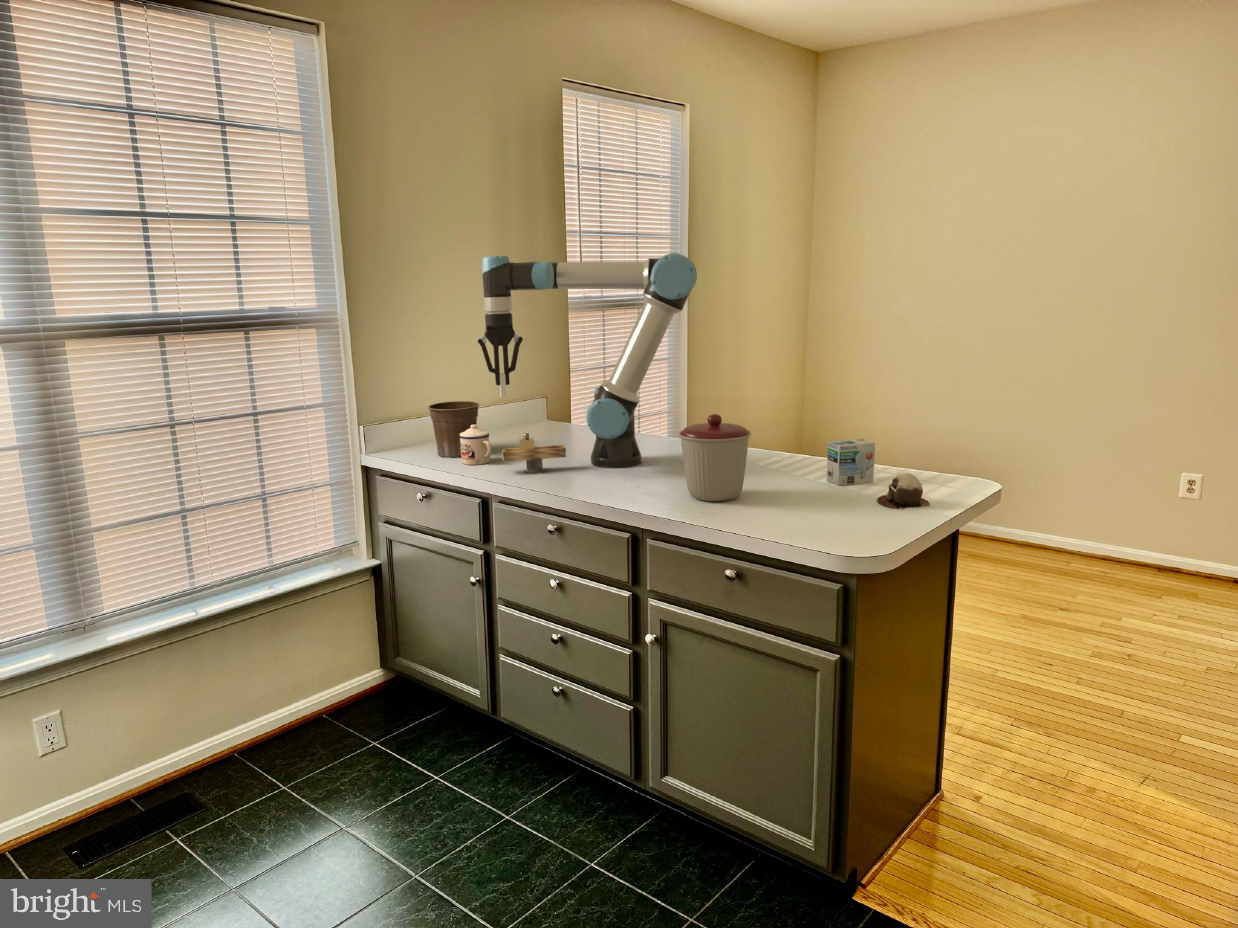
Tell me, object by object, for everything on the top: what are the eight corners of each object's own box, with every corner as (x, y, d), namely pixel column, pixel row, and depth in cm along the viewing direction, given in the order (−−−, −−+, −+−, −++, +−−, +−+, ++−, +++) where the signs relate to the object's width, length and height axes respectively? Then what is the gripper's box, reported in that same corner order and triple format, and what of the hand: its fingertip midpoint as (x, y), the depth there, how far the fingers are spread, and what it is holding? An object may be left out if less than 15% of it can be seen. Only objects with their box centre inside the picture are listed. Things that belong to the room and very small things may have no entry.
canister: (694, 509, 212) (693, 422, 207) (669, 492, 228) (667, 411, 224) (763, 501, 216) (764, 417, 212) (733, 485, 233) (733, 406, 229)
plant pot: (473, 459, 275) (469, 408, 272) (423, 459, 278) (419, 408, 274) (488, 449, 291) (485, 401, 287) (442, 449, 293) (438, 401, 290)
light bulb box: (838, 486, 230) (839, 445, 227) (825, 480, 236) (826, 441, 234) (874, 482, 233) (876, 442, 230) (861, 477, 239) (862, 438, 237)
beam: (563, 466, 262) (562, 444, 260) (566, 470, 256) (565, 448, 255) (502, 471, 258) (501, 448, 257) (504, 475, 252) (503, 452, 251)
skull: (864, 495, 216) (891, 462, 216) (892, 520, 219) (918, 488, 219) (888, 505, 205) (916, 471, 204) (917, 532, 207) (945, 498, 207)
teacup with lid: (455, 463, 271) (452, 425, 269) (478, 458, 278) (476, 421, 275) (479, 468, 263) (477, 429, 261) (503, 462, 270) (501, 425, 267)
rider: (533, 451, 257) (532, 432, 256) (534, 453, 255) (533, 434, 253) (519, 452, 256) (518, 433, 255) (520, 454, 254) (519, 434, 253)
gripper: (520, 311, 251) (524, 393, 256) (474, 313, 248) (479, 396, 253) (523, 312, 244) (527, 397, 249) (475, 314, 241) (481, 399, 246)
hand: (503, 396), depth 251 cm, fingers closed
